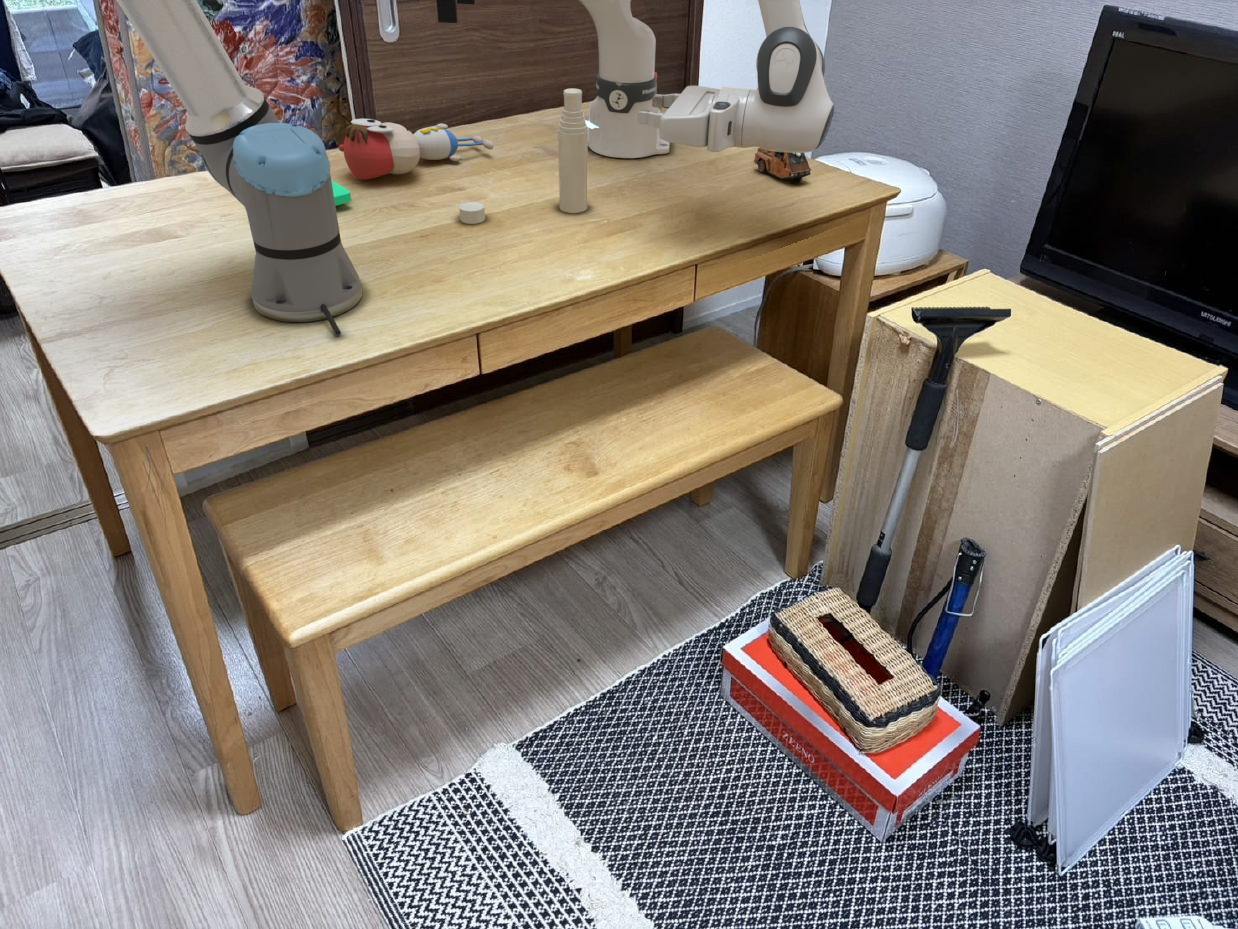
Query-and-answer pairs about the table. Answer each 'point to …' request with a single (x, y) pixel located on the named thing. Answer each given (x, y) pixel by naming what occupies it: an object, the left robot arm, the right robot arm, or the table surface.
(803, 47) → the right robot arm
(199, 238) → the table surface
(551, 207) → the table surface
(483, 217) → the cap
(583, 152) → the bottle
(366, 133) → the toy
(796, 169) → the toy car
